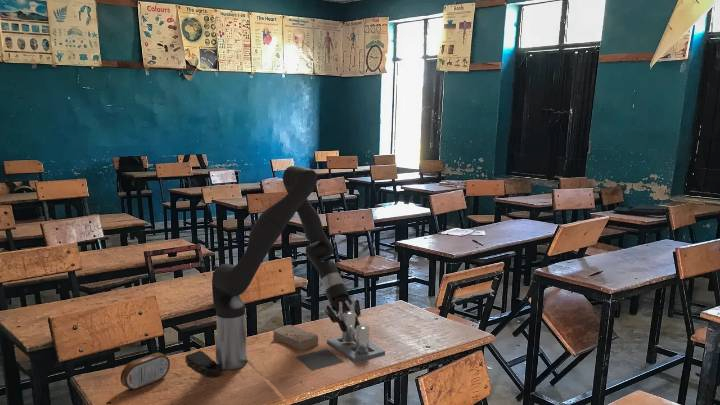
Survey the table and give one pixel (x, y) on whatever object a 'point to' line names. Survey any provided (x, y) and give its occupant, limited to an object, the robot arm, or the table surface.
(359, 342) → the cylinder
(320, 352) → the mat
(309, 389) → the table surface
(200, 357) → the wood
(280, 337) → the brick
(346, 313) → the cylinder
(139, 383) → the tin
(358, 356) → the grey slotted holder
